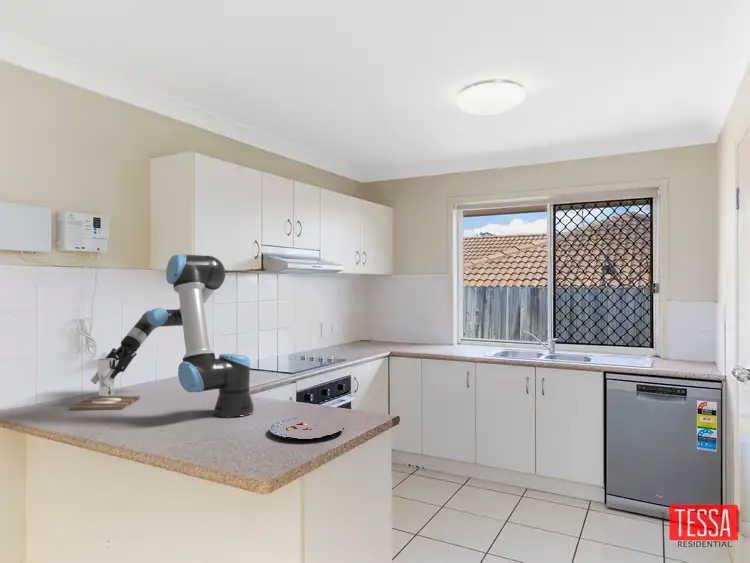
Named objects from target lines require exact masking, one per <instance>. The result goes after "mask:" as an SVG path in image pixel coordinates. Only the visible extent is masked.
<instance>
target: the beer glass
mask: <svg viewBox="0 0 750 563" xmlns="http://www.w3.org/2000/svg"><path fill="white" fill-rule="evenodd" d="M97 361H98V362H97V371H98V378H99V381H98V384H99V390H98V396H115V394H116V393H115V380H116V377H115V378H114V379H113V380H112V381H111V382H110V384H109V385H108V386H106V385H105V384H104V383H103V380H104V379H105V378H106V377H107V375H108V374H109V373H110V372H111V371H112V369H114V367H116V365H117V361H116V359H115V358H105V357H104V358H99V359H98V360H97ZM114 370H115V369H114Z"/></svg>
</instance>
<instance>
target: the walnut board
mask: <svg viewBox="0 0 750 563" xmlns="http://www.w3.org/2000/svg"><path fill="white" fill-rule="evenodd" d="M140 399H141V395H111V396H99V395H98V396H95V395H93V396H91V397H89V398H86V399H84V400H81V402H78V403H76V404H74V405H71V406H70V407H69V408H68V409H69V411H111V410H112V411H116V410H117V411H119V410H121V411H122V410H124V409H125V408H126V407H128V406H130V405H131V404H133V403H135V402H137V401H138V400H140Z"/></svg>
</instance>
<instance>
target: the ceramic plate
mask: <svg viewBox="0 0 750 563" xmlns="http://www.w3.org/2000/svg"><path fill="white" fill-rule="evenodd" d="M300 418H302V416H301V417H292V418H286V419H283V420H278V421H276V422H275V423H273V424H271V425H270V426H269V431H270V433H271V434H273V435H275V436H277V435H278V437H281V436H282V438H286V437H291V436H288V435H285V434H282V433H280V432H278V431H277V428H278V427H279V426H280V425H282V424H284V423H287V422H289V421H291V420H296V419H300ZM296 425H307V424H306V423H304V422H301V423H298V424H296ZM316 426H317V425H316ZM292 429H298V428H297V427H295V426H291V427H288V428H286V430H287V431H289V430H292ZM303 430H308V428H306V429H303ZM309 430H312V429H309Z"/></svg>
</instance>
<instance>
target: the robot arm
mask: <svg viewBox="0 0 750 563" xmlns="http://www.w3.org/2000/svg"><path fill="white" fill-rule="evenodd" d="M165 277H166V281H167V284H170V285H172V286H173V290H174V291H175V292H176V293H177V294H178V300H179V306H180V307H179V308H177V309H164V308H162V307H155V308H153V309H151V310H150V309H149V310H146V311H145V312H144V313H143V314H142V315H141V317H140V318H139V319H138V321H137V322H136V323H135V324H134V326H133V327H132V328H131V329H130V331H128V333H126V336H124V338H122V340H121V341H120V346H118V348H112V349H111V351H110V352H109V353H108V354H107V355H106V356H105V357H104V358H115V359H116V367H114V369H115V370H114V369H112V371H111V372H110V373H109V374H108V375H107V377H106V378H105V379H104V380H103V383H104V384H105V385H106V386H108V385H109V384H110V382H111V381H112V380H113V379H114V378H115V379H116V377H117V376H118V374H119V373H120V374H121V372H122V373H124V372H125V371H126V369H127V368H128V366H129V365H130V364H131V362H132V361H133V359H134V358H135V357H136V356H137V355H138V354H137V351H138V350H139V348H140V347H141V345H142V344H144V342H145V341H146V339H147V338H148V337H149V336H150V334H151V333H152V332H153V331H154V330H156V329H157V328H159V327H160V328H161V327H178V326H179V327H180V326H181V327H182V330H183V337H184V338H183V340H184V346H185V352H186V353H185V354H184V356H183V357H182V362H180V364H179V365H178V366H177V367H178V371H177V375H178V376H177V377H178V381H179V383H180V385H181V387H182V388H183V389H184V391H185V392H188V393H202V392H207V391H212V390H218V395H217V399H216V402H215V405H214V409H213V414H215V415H214V416H215V417H219V416H223V417H222V418H229V417H228V416H240V415H246V414H249V413H252V412H253V411H255V409H254V403H253V400H252V396H251V394H250V393H251V392H250V377H251V376H250V374H251V373H250V372H251V365H250V362H251V361H250V358H249V357H248V356H247V355H244V354H243V355H242V354H236V353H235V354H234V353H219V356H218V357H217V358H216V354H215V352H214V351H213V350H211V348H210V347H211V346H210V342H209V341H210V339H209V333H208V325H207V319H206V313H205V306H204V304H205V303H206V302H207V300H208V299H209V298H210V296H212V294H213V293H214V291H216V290H219V289H220V288H221V286H222V285H223V284H224V281H225V279H226V268H225V267H224V264H223V263H222V261H221V260H220V259H218V258H217V257H215V256H212V255H201V254H198V255H197V254H185V253H183V254H174V255H173V256H171V257H170V259H169V261H168V262H167V266H166V271H165ZM90 382H92V384H94V385H97V383H99V378H98V370H96V372H95V374H94V375H93V376H92V377H91V379H90ZM253 413H254V412H253ZM253 413H252V414H253ZM246 416H247V415H246Z"/></svg>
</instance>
